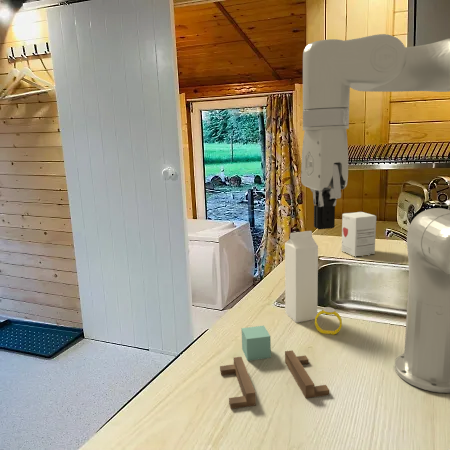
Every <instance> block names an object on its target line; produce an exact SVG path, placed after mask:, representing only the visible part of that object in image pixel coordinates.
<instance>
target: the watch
mask: <svg viewBox="0 0 450 450" xmlns="http://www.w3.org/2000/svg"><path fill="white" fill-rule="evenodd" d="M323 314H324V315H328V316H332V315H333V316H335V317H336V318H337V319H338V322H339V326H338V328H336V329H335V330H327V329H326V330H325V329H322V327H320V326H319V324H318V318H319V316H321V315H323ZM314 326H315V328H316V331H318V332H319V333H320V334H325V335H332V336H335V335H337V334H338V333H339V332H340V331H341V329H342V327H343V321H342V317H341V316H340V314H339V312H337V311H336V310H335V308H333V307H330V306H325V307H323V308H322V310H320V311H317V315H316V317H315V319H314Z"/></svg>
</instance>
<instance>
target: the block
mask: <svg viewBox="0 0 450 450" xmlns="http://www.w3.org/2000/svg"><path fill="white" fill-rule="evenodd" d="M271 344H272V343H271V335H270V333H269V332H268V329H267V328H266V326H265V325H257V326H250V327H242V328H241V349H242V352H243V354H244V357H245V358H246V361H247V362H250V361H255V360H257V361H258V360H264V359H266V360H267V359H271V357H272V355H271V354H272V353H271Z"/></svg>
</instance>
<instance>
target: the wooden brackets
mask: <svg viewBox="0 0 450 450" xmlns="http://www.w3.org/2000/svg"><path fill="white" fill-rule="evenodd" d="M309 360H310V359H309V358H308V356H307V355H305V354H304V355H299V356H297V355H296V353H295V352H294V351H293V350H292V349H291V350H286V351H284V363H285V364H286V367H287V369H288V371H289V372H290V373H291V375H292V377H293V379H294V380H295V382H296V384H297V385H298V388H299V389H300V391H301V393H302V394H303V396H304V398H305V399H309V398H310V399H311V398H317V397H318V398H319V397H326V396H329V395H330V388H329V387H328V386H327V384H323V385H321V384H320V385H315V383H314V381H313V380H312V378H311V377H310V375H309V374H308V372H307V370H306V369H305V367H304V365H309ZM219 371H220V375H221V376H225V375H233V374H235V376H236V379H237V382H238V384H239V387H240V391H241V394H242V396H235V397H233V396H232V397H228V404H229V407H230V409H231V410H233V409H239V408H240V409H241V408H248V407H255V406H256V405H257V403H256V399H257V397H256V390H255V388H254V385H253V382H252V379H251V377H250V375H249V373H248V370H247V367H246V365H245V362H244V359H243V357H242V356H237V357H236V356H235V357H233V364H227V365H226V364H225V365H220V366H219Z"/></svg>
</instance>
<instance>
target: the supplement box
mask: <svg viewBox="0 0 450 450" xmlns="http://www.w3.org/2000/svg"><path fill="white" fill-rule="evenodd" d="M341 216H342V218H341V219H342V222H341V223H342V224H341V252H342V251H344V252H346V253H349V254H351V255H353V256H355V257H354V258H357V257H356V256H362V257H364V256H363V255H368V256H371V255H370V254H375V253H376V252H375V250H376V229H377V215H375V214H371V213H369V212H368V213H367V212H363V211H357V212H344V213H342V215H341ZM344 252H343V253H344ZM346 253H345V254H346ZM351 255H350V256H351ZM375 255H376V254H375ZM353 256H352V257H353Z"/></svg>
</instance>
